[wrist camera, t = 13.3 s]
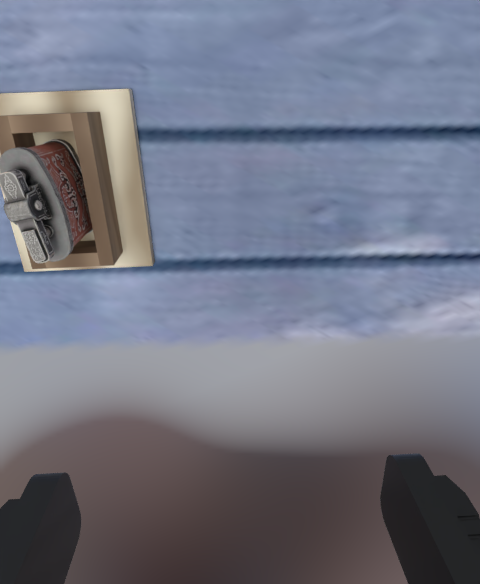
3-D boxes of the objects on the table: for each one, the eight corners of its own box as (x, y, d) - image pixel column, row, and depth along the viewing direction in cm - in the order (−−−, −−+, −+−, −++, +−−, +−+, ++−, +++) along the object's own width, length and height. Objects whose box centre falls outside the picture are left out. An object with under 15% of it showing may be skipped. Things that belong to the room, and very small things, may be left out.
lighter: (34, 143, 33) (-36, 158, 24) (74, 134, 33) (18, 147, 24) (70, 235, 37) (20, 279, 28) (106, 228, 37) (68, 269, 28)
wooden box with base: (131, 89, 33) (118, 87, 29) (154, 261, 40) (146, 280, 35) (-18, 94, 33) (-53, 93, 29) (30, 267, 39) (6, 287, 35)
